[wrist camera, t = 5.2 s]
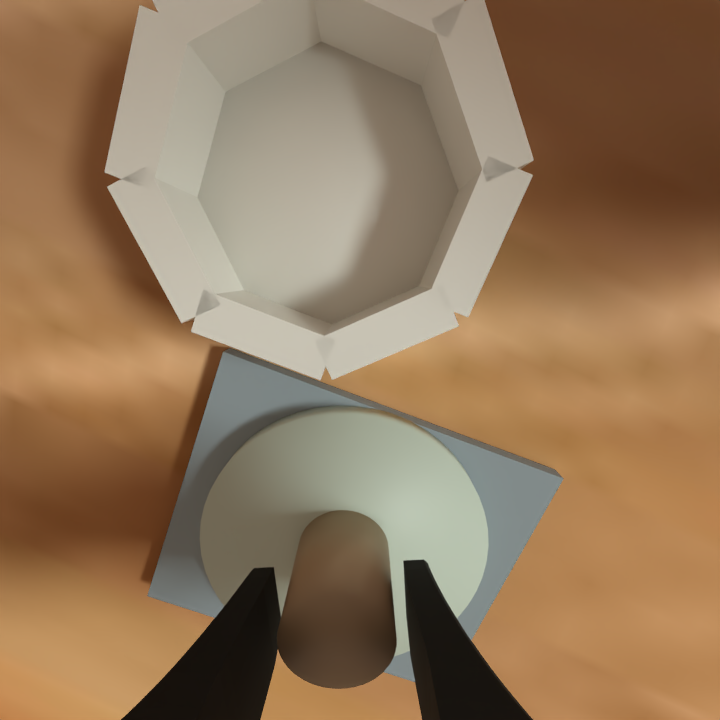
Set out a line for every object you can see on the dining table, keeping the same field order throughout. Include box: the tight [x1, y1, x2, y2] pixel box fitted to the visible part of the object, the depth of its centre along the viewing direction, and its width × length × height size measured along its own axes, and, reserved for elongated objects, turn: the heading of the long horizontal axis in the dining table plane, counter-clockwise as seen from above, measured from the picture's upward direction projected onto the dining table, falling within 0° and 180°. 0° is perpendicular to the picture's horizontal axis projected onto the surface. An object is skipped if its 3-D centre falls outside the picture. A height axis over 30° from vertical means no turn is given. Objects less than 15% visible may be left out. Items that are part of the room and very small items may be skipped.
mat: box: [147, 348, 563, 682], centre depth 14 cm, size 12×10×1 cm
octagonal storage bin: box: [105, 0, 534, 380], centre depth 10 cm, size 9×9×3 cm
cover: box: [200, 405, 489, 689], centre depth 11 cm, size 10×10×4 cm
